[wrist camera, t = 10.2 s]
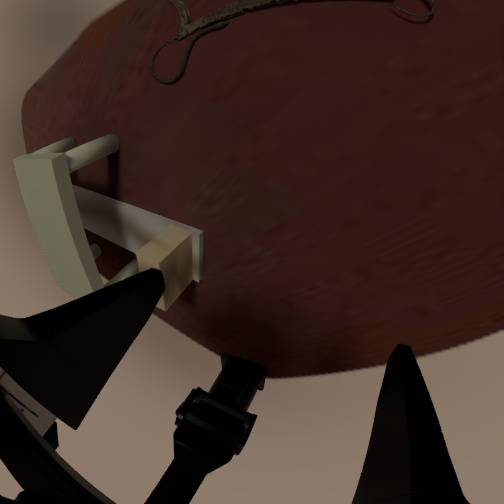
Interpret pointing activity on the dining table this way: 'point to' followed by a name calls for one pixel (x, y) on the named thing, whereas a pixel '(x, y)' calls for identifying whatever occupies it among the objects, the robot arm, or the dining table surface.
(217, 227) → the dining table surface
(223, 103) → the dining table surface
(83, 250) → the miniature white bench
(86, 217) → the scraper
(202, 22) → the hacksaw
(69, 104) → the dining table surface
